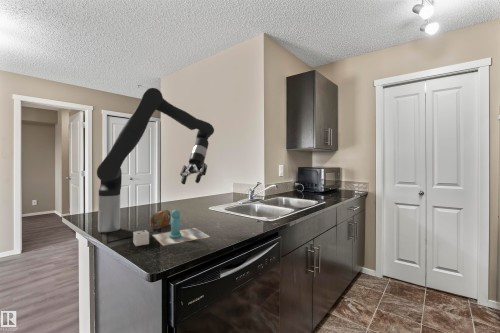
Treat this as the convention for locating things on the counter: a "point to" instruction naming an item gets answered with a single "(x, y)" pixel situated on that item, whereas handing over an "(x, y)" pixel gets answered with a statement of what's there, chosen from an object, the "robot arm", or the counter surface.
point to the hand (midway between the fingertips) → (189, 183)
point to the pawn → (175, 224)
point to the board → (185, 236)
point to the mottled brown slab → (160, 219)
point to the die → (141, 237)
